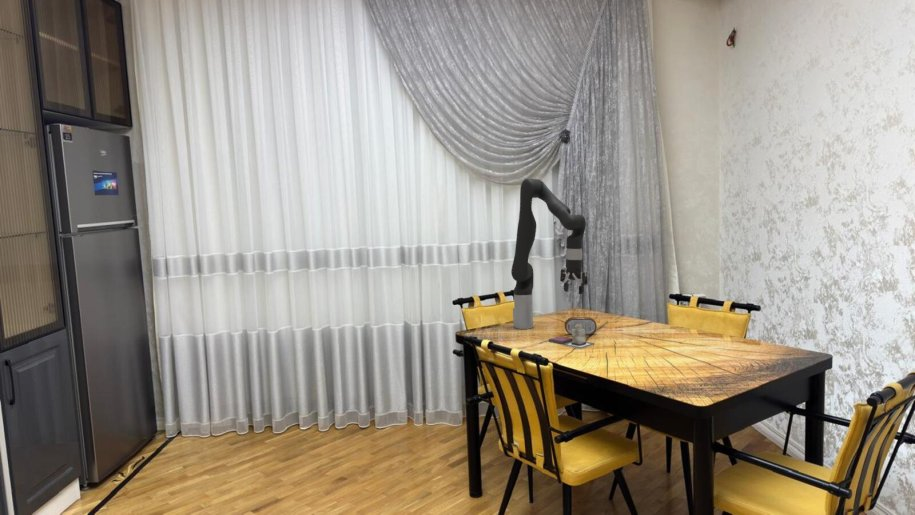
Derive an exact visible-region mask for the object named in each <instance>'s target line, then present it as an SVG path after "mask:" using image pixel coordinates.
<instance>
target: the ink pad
mask: <svg viewBox="0 0 915 515" xmlns="http://www.w3.org/2000/svg"><path fill="white" fill-rule="evenodd" d="M548 342H549V343H553V344H558V345H563V344H565V343H568V342H572V337H567V336H562V335H558V336H555V337H552V338H550V339H548Z"/></svg>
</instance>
